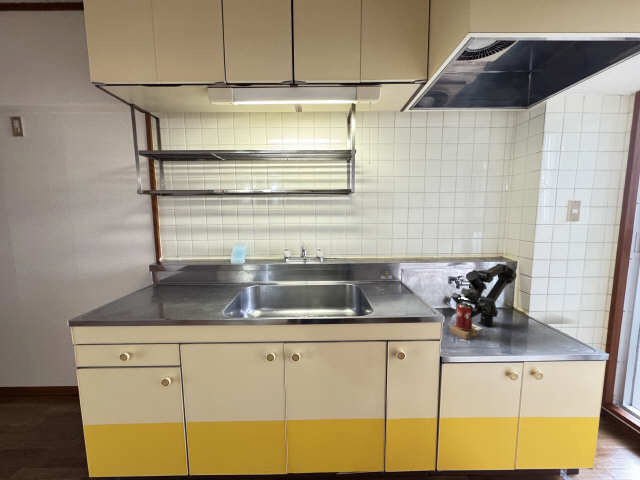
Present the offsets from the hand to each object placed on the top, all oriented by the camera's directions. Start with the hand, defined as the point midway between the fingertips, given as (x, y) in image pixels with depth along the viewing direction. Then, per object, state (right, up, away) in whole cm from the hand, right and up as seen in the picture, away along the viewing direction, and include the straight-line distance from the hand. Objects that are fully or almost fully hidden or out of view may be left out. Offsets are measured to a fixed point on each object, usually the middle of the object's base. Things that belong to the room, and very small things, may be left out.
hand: (462, 315), depth 139 cm
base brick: (+1, -10, +2) cm, 10 cm away
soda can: (+1, -7, +2) cm, 7 cm away
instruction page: (+9, -9, +9) cm, 16 cm away
